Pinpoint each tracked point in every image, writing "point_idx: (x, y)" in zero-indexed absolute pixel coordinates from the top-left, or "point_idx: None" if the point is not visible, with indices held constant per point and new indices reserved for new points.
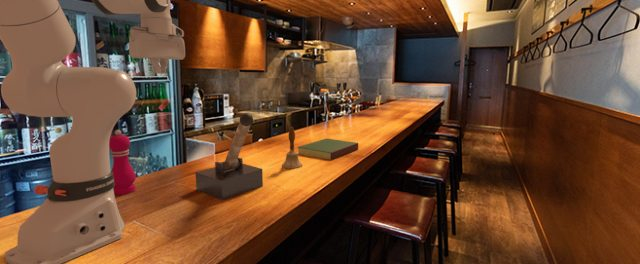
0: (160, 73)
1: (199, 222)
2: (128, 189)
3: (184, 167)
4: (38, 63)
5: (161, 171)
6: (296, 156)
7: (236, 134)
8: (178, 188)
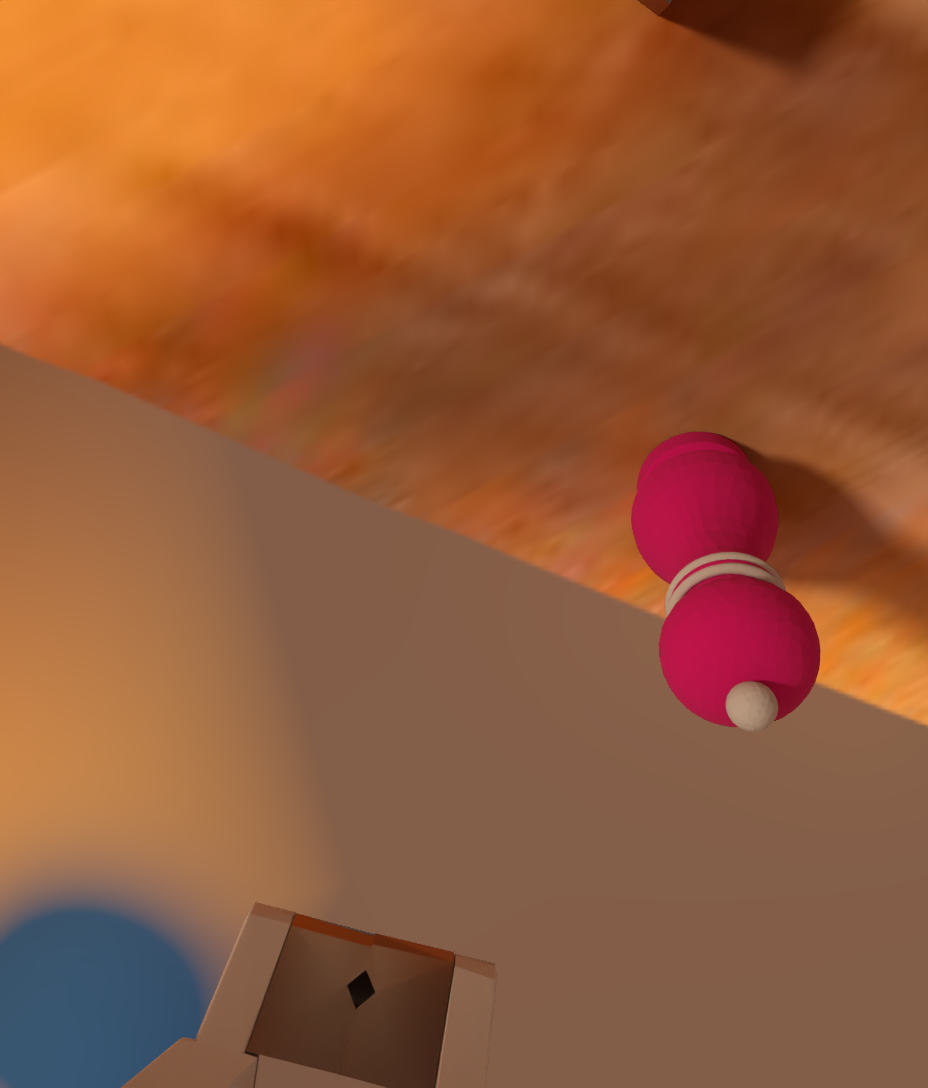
0: (433, 951)
1: None
2: (733, 449)
3: (200, 368)
4: None
5: (315, 471)
6: None
7: None
8: (631, 178)
